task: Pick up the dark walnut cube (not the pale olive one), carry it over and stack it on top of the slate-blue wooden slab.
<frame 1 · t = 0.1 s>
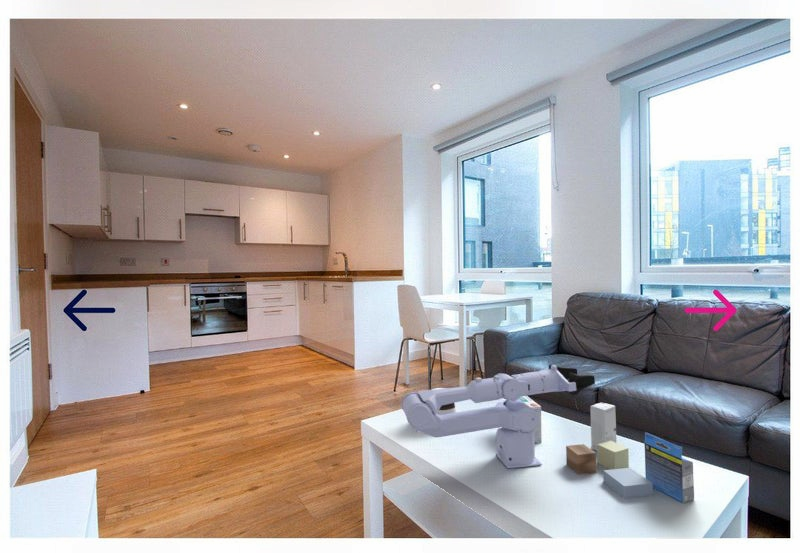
hand: (584, 375, 106), 22 cm above the table, tool horizontal, fingers open, 7 cm apart
spread jar: (435, 426, 128), on the table
light bulb box: (524, 436, 119), on the table
walnut cube: (581, 468, 99), on the table
olive cube: (613, 465, 100), on the table
base slab: (627, 489, 89), on the table
skincare box: (603, 448, 109), on the table
label tape box: (668, 492, 88), on the table
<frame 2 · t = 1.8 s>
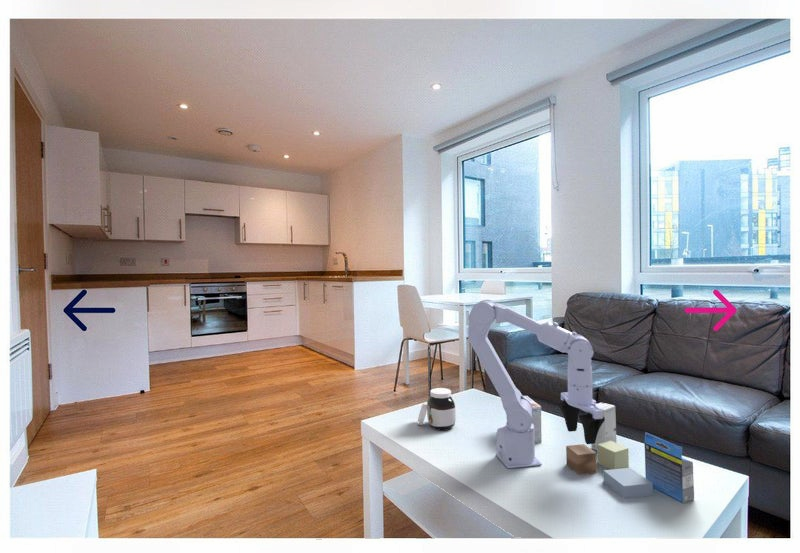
hand: (580, 436, 99), 8 cm above the table, tool pointing down, fingers open, 7 cm apart
nothing on the table moved.
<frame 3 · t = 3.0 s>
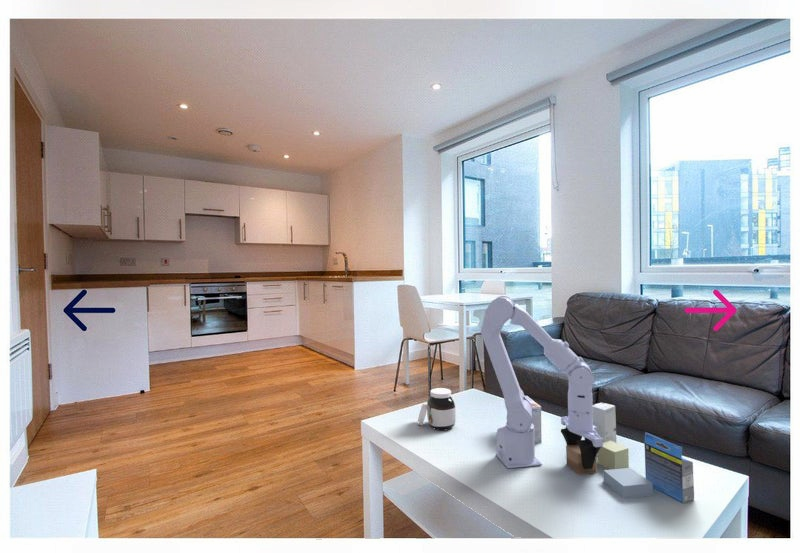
hand: (581, 462, 99), 1 cm above the table, tool pointing down, fingers closed on walnut cube, 5 cm apart
walnut cube: (581, 468, 99), on the table, touching gripper
everything else where it was.
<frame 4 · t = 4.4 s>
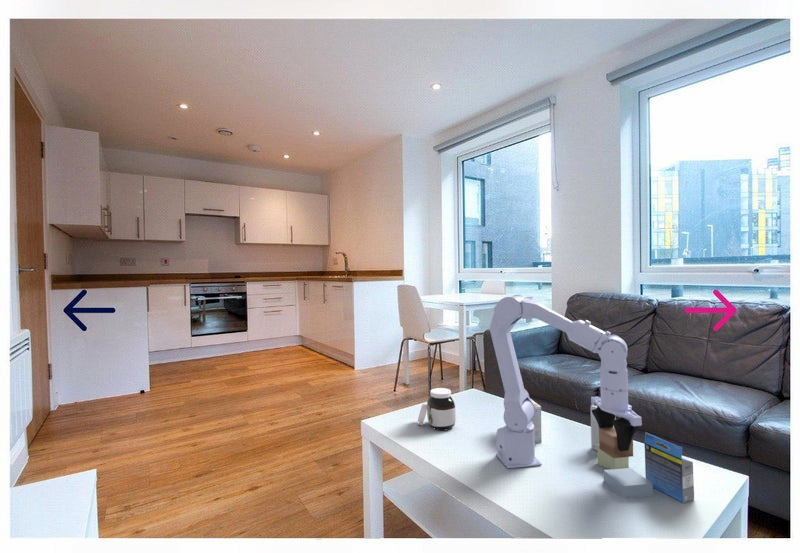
hand: (615, 444, 92), 9 cm above the table, tool pointing down, fingers closed on walnut cube, 5 cm apart
walnut cube: (615, 452, 92), point 7 cm above the table, touching gripper
everything else where it was.
when the fingers open (5 cm above the table, at t = 5.9 s): walnut cube stays where it is, resting on base slab.
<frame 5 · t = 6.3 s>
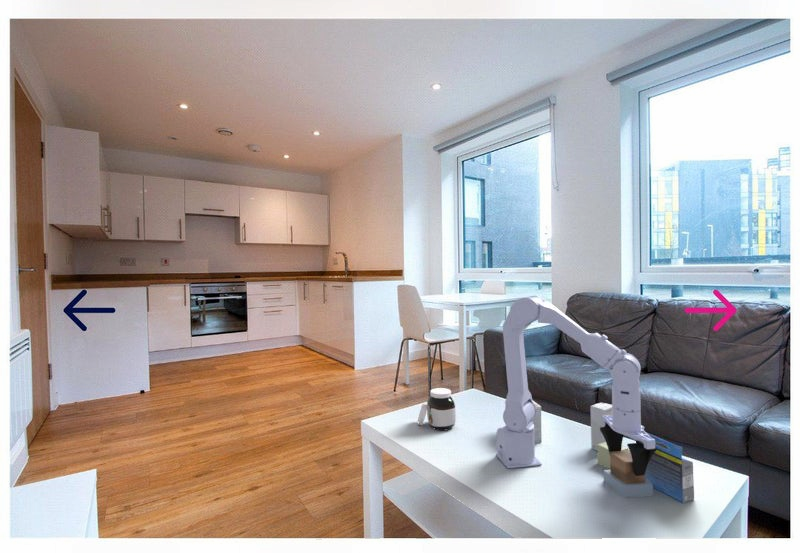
hand: (627, 466, 89), 5 cm above the table, tool pointing down, fingers open, 7 cm apart
walnut cube: (627, 477, 89), point 3 cm above the table, touching base slab
base slab: (627, 489, 89), on the table, touching walnut cube
everything else where it was.
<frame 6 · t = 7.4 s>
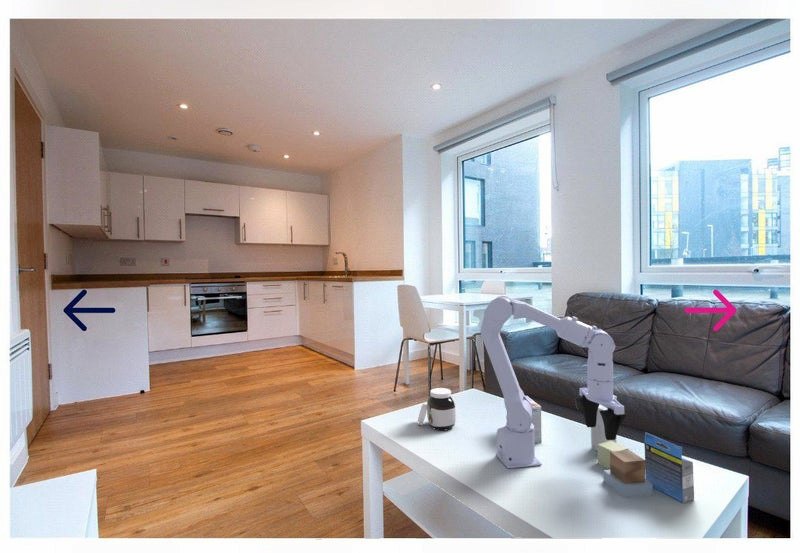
hand: (600, 432, 97), 10 cm above the table, tool pointing down, fingers open, 7 cm apart
nothing on the table moved.
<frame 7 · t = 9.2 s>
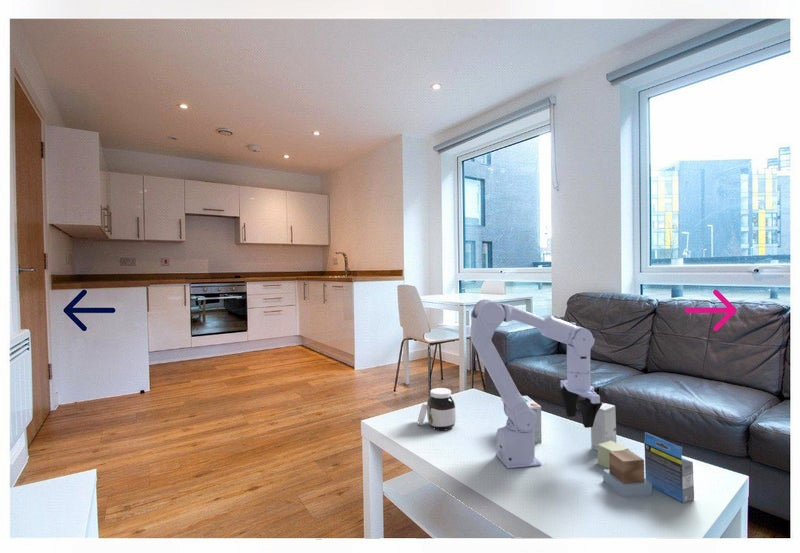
hand: (579, 421, 104), 10 cm above the table, tool pointing down, fingers open, 7 cm apart
nothing on the table moved.
at the end: walnut cube 0.3 cm off-centre on the base slab, point 3.0 cm above the base slab's base; walnut cube tilted 0°; the gripper is holding nothing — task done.
